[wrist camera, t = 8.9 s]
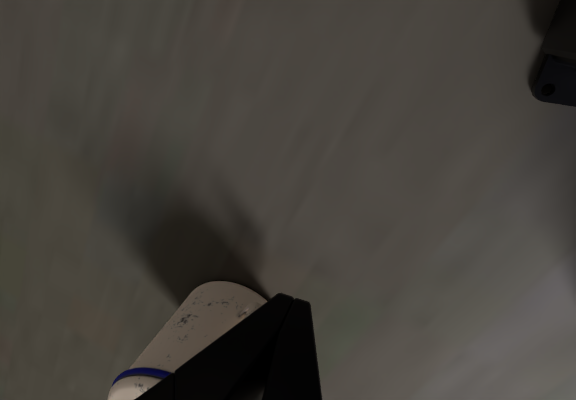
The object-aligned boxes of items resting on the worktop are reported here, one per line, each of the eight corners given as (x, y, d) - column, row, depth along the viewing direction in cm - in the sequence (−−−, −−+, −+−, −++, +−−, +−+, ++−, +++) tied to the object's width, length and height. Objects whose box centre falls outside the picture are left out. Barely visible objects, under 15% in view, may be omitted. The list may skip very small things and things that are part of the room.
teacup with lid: (255, 378, 31) (181, 550, 21) (171, 317, 30) (54, 460, 20) (336, 306, 24) (285, 502, 14) (230, 229, 24) (104, 372, 14)
